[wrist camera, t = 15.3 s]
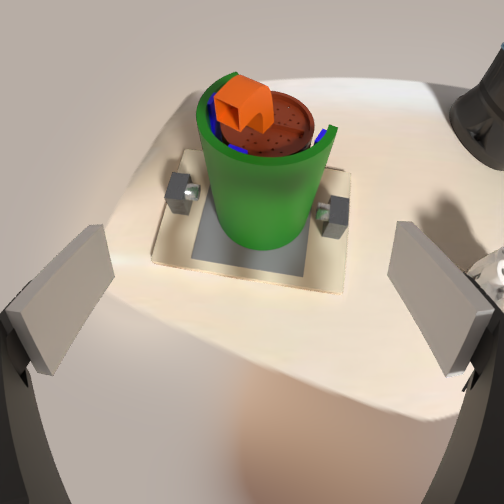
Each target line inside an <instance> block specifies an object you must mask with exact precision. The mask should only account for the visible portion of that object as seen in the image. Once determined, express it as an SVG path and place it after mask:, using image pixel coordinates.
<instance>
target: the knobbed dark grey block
mask: <svg viewBox="0 0 504 504" xmlns="http://www.w3.org/2000/svg"><path fill="white" fill-rule="evenodd" d="M200 193H201V186H200V184H193V182H192V179H191V176H190V174H185V173H175V172H172V175H171V178H170V181H169V184H168V187H167V191H166V194H165V197H164V199H165V200H166V202H167V204H168V206H169V208H170V210H171V212H172V213H173V214H181V215H188V216H189V213H190V210H191V206H192V203H193V201H198V200H199V197H200Z"/></svg>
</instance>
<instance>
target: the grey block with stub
mask: <svg viewBox="0 0 504 504" xmlns="http://www.w3.org/2000/svg"><path fill="white" fill-rule="evenodd" d="M349 200H350V198H345V197H340V196H334V195H331V196H330V199H329V201H328V203H327V204H325V203H320V202H318V204H317V208H316V214H315V219H317V220H323V229H322V237H327V238H333V239H340V238H341V236H342V235H343V233H344V232H345V230H346V229H347V227H348V220H349Z"/></svg>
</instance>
